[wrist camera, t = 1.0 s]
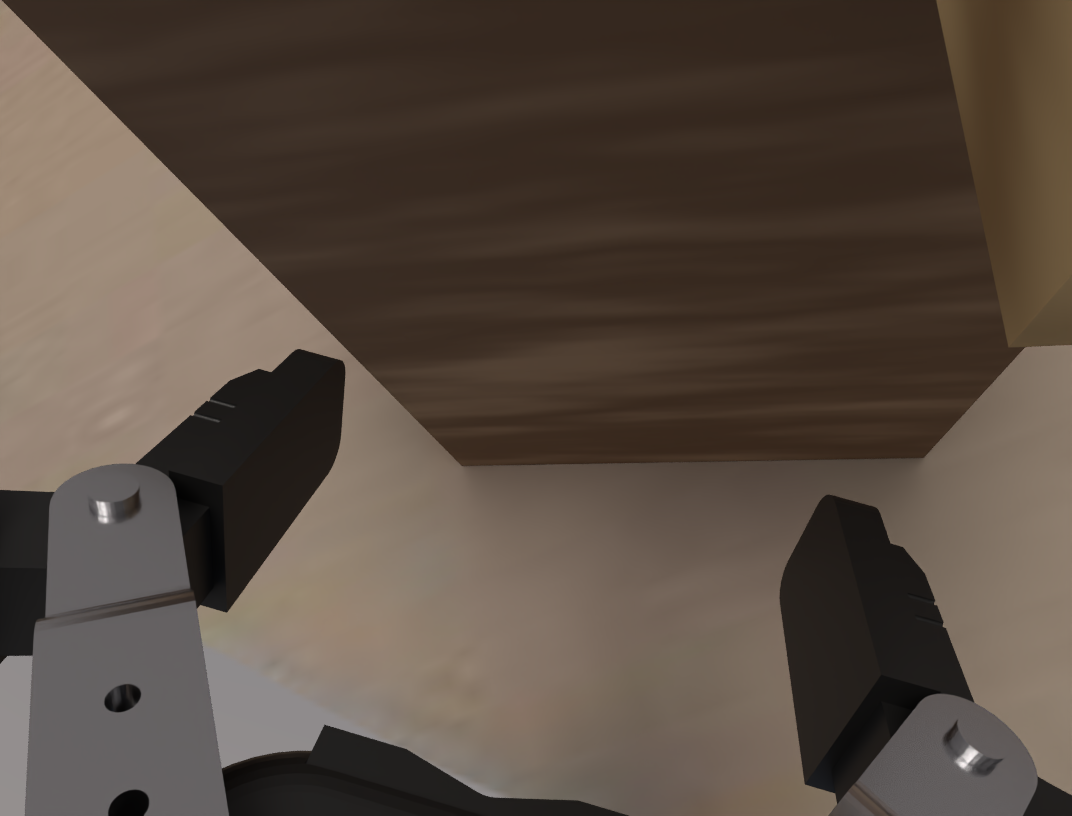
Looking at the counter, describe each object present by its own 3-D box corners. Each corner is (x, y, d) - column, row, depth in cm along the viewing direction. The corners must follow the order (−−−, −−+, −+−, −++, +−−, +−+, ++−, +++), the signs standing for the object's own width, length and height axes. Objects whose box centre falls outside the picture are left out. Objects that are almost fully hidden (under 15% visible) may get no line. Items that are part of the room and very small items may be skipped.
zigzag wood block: (923, 457, 37) (1910, -618, 7) (461, 465, 42) (-143, -147, 12) (887, 221, 42) (1364, -990, 12) (479, 253, 47) (89, -554, 17)
